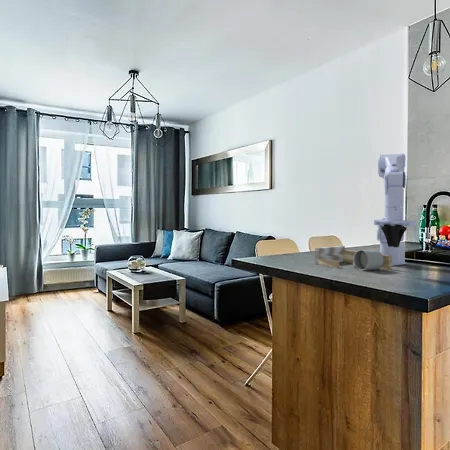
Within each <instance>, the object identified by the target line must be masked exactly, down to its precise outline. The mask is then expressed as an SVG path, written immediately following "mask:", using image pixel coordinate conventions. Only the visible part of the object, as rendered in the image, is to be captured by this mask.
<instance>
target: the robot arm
mask: <svg viewBox="0 0 450 450" xmlns="http://www.w3.org/2000/svg"><path fill="white" fill-rule="evenodd" d="M377 157H378V158H377V163H378V164H377V169H378V170H377V171H378V172H377V174H378V177H380V178H382V179H383V188H384V217H382V218H381V219H373V225H374V226H377V227H376V240H377V241H378V242H379V243H380V244H379V252H380V253H381V254H382V255H388V256H392V259H391V267H394V266H395V267H396V266H401V265H407V262H406V261H405V260H406V259H405V258H406V247H405V245H404V243H402V242H403V241H404V239H405V232H406V231H407V227H408V228H415V227H416V225H417V224H416V223H417V222H416V220H408V219H407V220H404V205H405V204H404V200H405V199H404V198H405V196H404V195H405V190H404V189H405V188H406V184H407V182H406V181H407V176H406V172H405V169H406V153H396V154H395V153H393V154H392V153H391V154H379V155H378V156H377Z"/></svg>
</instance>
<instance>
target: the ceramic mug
mask: <svg viewBox="0 0 450 450" xmlns="http://www.w3.org/2000/svg"><path fill="white" fill-rule="evenodd" d="M356 251H357V252H356V253H355V255H354V262H353V263H352V265H353V267H354V268H356V269H357V270H358V271H362V272H364V271H373V270H375V271H376V270H378V269H382V268H381V267H382V265H383V262H384V258H383V255H382V254H381V253H380V250H376V249H359V250H356Z"/></svg>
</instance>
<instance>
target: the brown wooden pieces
mask: <svg viewBox="0 0 450 450" xmlns="http://www.w3.org/2000/svg"><path fill="white" fill-rule="evenodd" d="M357 251H358V250H349V249H346V246H345V245H335V246H322V247H315V249H314V264H315V265H318V264H319V266H325V267H330V268H335V269H340V263H349V264H353V262H354V255H355V253H356V252H357ZM383 258H384V262H383V265H382V267H381V268H380V269H383V270H392V266H391V259H392V256H388V255H383Z"/></svg>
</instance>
